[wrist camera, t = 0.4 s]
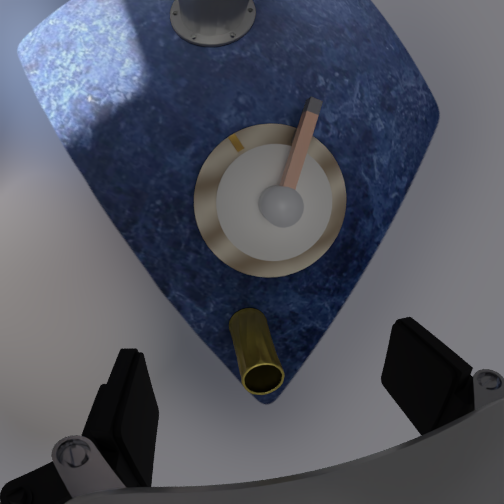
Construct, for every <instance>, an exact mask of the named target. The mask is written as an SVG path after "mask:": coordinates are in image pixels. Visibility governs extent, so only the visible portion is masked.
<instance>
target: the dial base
mask: <svg viewBox="0 0 504 504" xmlns="http://www.w3.org/2000/svg"><path fill="white" fill-rule="evenodd" d="M296 131H297V128H295V127H292V126H287V125H282V124H260V125H255V126H251V127H248V128H245V129H242V130H240V131H238V132H236V133H234V134H232V135H230V136H229V137H228V138H226V139H225V140H223V141H222V142H221V143H220V144H219V145H218V146H217V147H216V148H215V149H214V150H213V151H212V153H211V154H210V155H209V156H208V158H207V159H206V161H205V163H204V164H203V166H202V168H201V171H200V173H199V175H198V179H197V182H196V186H195V193H194V210H195V217H196V221H197V225H198V228H199V230H200V233H201V235H202V237H203V239H204V240H205V242H206V244H207V245H208V247H209V248H210V249H211V250H212V252H213V253H214V254H215V255H216V256H217V257H218V258H219V259H220V260H222V261H223V262H224V263H226V264H227V265H229V266H230V267H232V268H234V269H236V270H238V271H240V272H243V273H245V274H249V275H253V276H258V277H279V276H285V275H289V274H292V273H295V272H298V271H300V270H302V269H304V268H306V267H308V266H309V265H311V264H312V263H314V262H315V261H316V260H318V259H319V258H320V257H321V256H322V255H323V254H324V253H325V252H326V251H327V250H328V249H329V247H330V246H331V245H332V243H333V242H334V240H335V238H336V237H337V235H338V233H339V231H340V228H341V226H342V223H343V219H344V215H345V209H346V189H345V184H344V179H343V176H342V173H341V170H340V168H339V166H338V164H337V162H336V160H335V159H334V157H333V156H332V154H331V153H330V152H329V151H328V149H327V148H326V147H325V146H324V145H323V144H322V143H321V142H320V141H319V140H317V139H316V138H314V137H313V136H312V138H311V141H310V145H309V148H308V151H307V154H309V155H310V156H311V157H312V158H313V159H315V161H316V162H317V163H318V164H319V165H320V166H321V168H322V169H323V170H324V172H325V174H326V176H327V178H328V181H329V183H330V187H331V192H332V211H331V216H330V219H329V222H328V225H327V227H326V229H325V231H324V233H323V234H322V236H321V237H320V238H319V240H318V241H317V242H316V243H315V244H314V245H313V246H312V247H311V248H309V249H308V250H307V251H305V252H304V253H302V254H300V255H298V256H296V257H293V258H290V259H287V260H282V261H265V260H260V259H256V258H253V257H251V256H249V255H247V254H245V253H243V252H242V251H240V250H239V249H238V248H237V247H235V246H234V245H233V244H232V243H231V242H230V240H229V239H228V238H227V236H226V235H225V233H224V232H223V229H222V227H221V225H220V222H219V219H218V215H217V209H216V196H217V190H218V186H219V183H220V180H221V178H222V176H223V174H224V172H225V171H226V169H227V168H228V167H229V165H230V164H231V163H232V162H233V161H234V160H235V159H236V158H238V157H239V156H240V155H241V154H243V153H245V152H246V151H248V150H251V149H253V148H255V147H258V146H262V145H267V144H283V145H289V146H292V144H293V140H294V137H295V134H296Z"/></svg>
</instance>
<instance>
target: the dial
mask: <svg viewBox="0 0 504 504" xmlns="http://www.w3.org/2000/svg"><path fill="white" fill-rule="evenodd" d="M322 102H323V101H320V100H318V99H316V98H313V97H310V98H308V99H307V100H306V102H305V105H304V108H303V111H302V115H301V118H300V121H299V124H298V128H297V131H296V134H295V137H294V140H293V144H292V146H289V145H283V144H267V145H262V146H258V147H255V148H253V149H251V150H248V151H246V152H245V153H243V154H241V155H240V156H239V157H238V158H236V159H235V160H234V161H233V162H232V163H231V164H230V165H229V167H228V168H227V169H226V171H225V172H224V174H223V176H222V178H221V180H220V183H219V186H218V190H217V196H216V209H217V215H218V219H219V222H220V225H221V227H222V229H223V232H224V233H225V235H226V236H227V238H228V239H229V240H230V242H231V243H232V244H233V245H234V246H235V247H237V248H238V249H239V250H240V251H242V252H243V253H245V254H247V255H249V256H251V257H253V258H256V259H260V260H265V261H282V260H287V259H290V258H293V257H296V256H298V255H300V254H302V253H304V252H305V251H307V250H308V249H309V248H311V247H312V246H313V245H314V244H315V243H316V242H317V241H318V240H319V238H320V237H321V236H322V234H323V233H324V231H325V229H326V227H327V225H328V222H329V219H330V216H331V211H332V192H331V187H330V183H329V181H328V178H327V176H326V174H325V172H324V170H323V169H322V168H321V166H320V165H319V164H318V163H317V162H316V161H315V159H313V158H312V157H311V156H310V155H309V154H307V151H308V148H309V145H310V141H311V138H312V135H313V132H314V128H315V125H316V122H317V119H318V115H319V112H320V109H321V106H322Z"/></svg>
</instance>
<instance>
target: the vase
mask: <svg viewBox="0 0 504 504" xmlns="http://www.w3.org/2000/svg"><path fill="white" fill-rule="evenodd" d="M229 330H230V332H231V335H232V339H233V343H234V347H235V351H236V355H237V359H238V365H239V371H240V375H241V380H242V384H243V386H244V388H245V389H246V390H247V391H248V392H250V393H252V394H258V395H264V394H268V393H271V392H273V391H274V390H276V389H277V388H279V387H280V386H281V384H282V383H283V380H284V372H283V368H282V366H281V363H280V361H279V359H278V356H277V354H276V351H275V348H274V345H273V342H272V339H271V335H270V331H269V328H268V325H267V320H266V318H265V316H264V314H263V313H262V312H260V311H259V310H257V309H253V308H245V309H242V310H240V311H238V312H236V313H235V314H234V315H233V316H232V318H231V319H230V322H229Z"/></svg>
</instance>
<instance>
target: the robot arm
mask: <svg viewBox="0 0 504 504" xmlns="http://www.w3.org/2000/svg"><path fill="white" fill-rule="evenodd" d="M255 16H256V9H255V5H254V2H253V0H175V1H174V2H173V4H172V6H171V10H170V20H171V24H172V27H173V29H174V30H175V32H176V33H177V34H178V35H179V36H180V37H181V38H182V39H184V40H186V41H187V42H189V43H192V44H195V45H199V46H204V47H216V46H223V45H227V44H230V43H232V42H235V41H237V40H238V39H240V38H242V37H243V36H244V35H245V34H246V33H247V32H248V31H249V30H250V28H251V27H252V25H253V22H254V20H255ZM231 36H233V37H234V38H231ZM193 38H195V39H193ZM472 369H473V368H472V367H471V366H470V365H469V364H468V363H466V362H465V361H464V360H463V359H462V358H460V357H459V356H458V355H457V354H456V353H455V352H453V351H452V350H451V349H450V348H449V347H447V346H446V345H445V344H444V343H442V342H441V341H440V340H439V339H438V338H436V337H435V336H434V335H433V334H431V333H430V332H429V331H428V330H426V329H425V328H424V327H423V326H421V325H420V324H419V323H418V322H416V321H415V320H414V319H412V318H411V317H406V318H402V319H398V320H396V322H395V324H393V326H392V330H391V335H390V340H389V345H388V350H387V354H386V359H385V364H384V368H383V372H382V376H381V382H382V384H383V386H384V387H385V389H386V390H387V391H388V393H389V394H390V395H391V396H392V398H393V399H394V400H395V401H396V403H397V404H398V405H399V407H400V408H401V409H402V411H403V412H404V413H405V414H406V416H407V417H408V418H409V420H410V421H411V422H412V423H413V425H414V426H415V428H416V429H417V430H418V432H419V433H420V434H421V435H422V436H420V437H418V438H415V439H413V440H410V441H408V442H405V443H402V444H400V445H397V446H395V447H392V448H389V449H386V450H384V451H381V452H378V453H375V454H372V455H369V456H366V457H363V458H360V459H356V460H353V461H350V462H346V463H342V464H339V465H335V466H331V467H327V468H323V469H319V470H315V471H310V472H305V473H301V474H296V475H291V476H285V477H279V478H273V479H267V480H260V481H252V482H244V483H234V484H222V485H209V486H186V487H151V483H152V472H153V461H154V452H155V442H156V435H157V427H158V419H159V410H158V406H157V402H156V399H155V395H154V392H153V388H152V385H151V381H150V377H149V374H148V370H147V366H146V362H145V358H144V354H143V353H141V352H140V353H139V352H138V350H137V349H121V350H120V352H119V354H118V357H117V359H116V362H115V364H114V367H113V369H112V372H111V374H110V377H109V379H108V382H107V384H102V385H101V386H100V388H99V390H98V393H97V395H96V398H95V400H94V403H93V406H92V409H91V411H90V414H89V416H88V419H87V422H86V425H85V427H84V430H83V433H82V436H78V435H76V436H68V437H65V438H63V439H61V440H59V441H58V442H57V443H56V444H55V446H54V448H53V450H52V455H51V456H52V460H53V461H52V462H50V463H48V464H46V465H44V466H42V467H40V468H38V469H36V470H34V471H32V472H29V473H27V474H25V475H23V476H21V477H19V478H16V479H14V480H12V481H10V482H8V483H6V484H5V486H4V487H3V488H2V490H1V493H0V501H1V502H0V504H504V378H503V377H502V376H501V375H500V374H499V373H497V372H495V371H493V370H489V369H482V370H479V371H477V372H476V373H475V374H474V376H473V377H472V376H471V375H470V374H471V371H472Z"/></svg>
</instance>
